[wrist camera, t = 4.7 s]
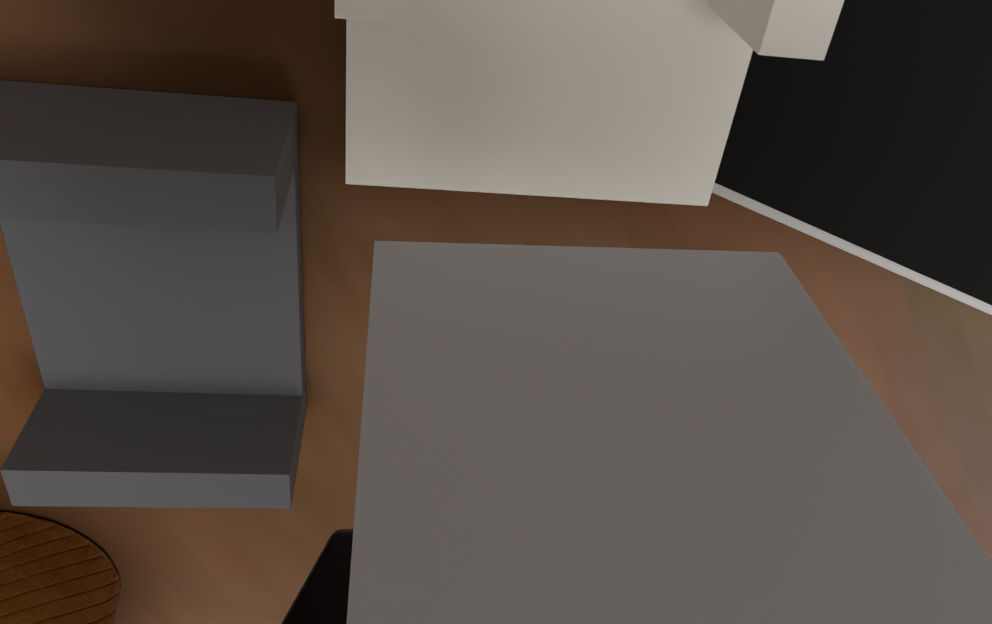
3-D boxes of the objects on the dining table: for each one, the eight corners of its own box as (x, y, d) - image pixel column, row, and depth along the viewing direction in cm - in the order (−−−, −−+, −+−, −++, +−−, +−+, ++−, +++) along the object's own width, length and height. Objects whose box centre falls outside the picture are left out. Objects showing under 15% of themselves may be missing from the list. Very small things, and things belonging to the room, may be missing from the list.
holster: (306, 409, 23) (290, 508, 20) (64, 402, 22) (12, 506, 19) (296, 101, 18) (274, 176, 15) (-19, 78, 17) (-107, 153, 14)
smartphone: (757, -204, 16) (775, -200, 15) (1252, 111, 21) (1285, 126, 20) (576, 121, 19) (582, 138, 18) (1034, 324, 24) (1054, 344, 23)
